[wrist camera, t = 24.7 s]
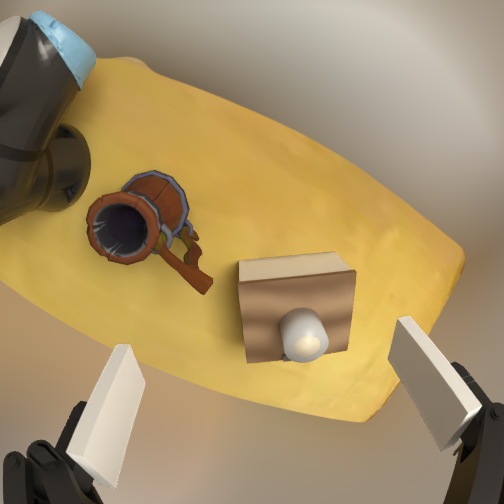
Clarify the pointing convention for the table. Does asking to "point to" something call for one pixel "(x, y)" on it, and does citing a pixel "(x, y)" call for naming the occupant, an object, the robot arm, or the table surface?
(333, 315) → the lid
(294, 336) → the grey squat drum
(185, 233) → the mug
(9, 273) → the table surface
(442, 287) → the table surface
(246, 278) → the box
